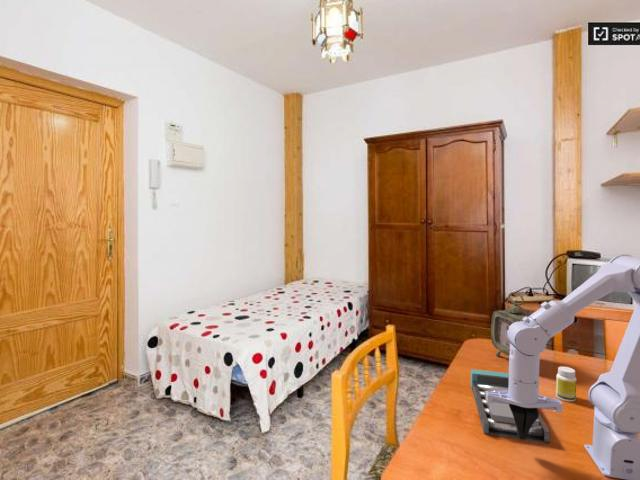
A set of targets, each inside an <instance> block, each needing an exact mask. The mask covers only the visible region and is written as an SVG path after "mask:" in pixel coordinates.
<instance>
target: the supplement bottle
mask: <svg viewBox="0 0 640 480" xmlns="http://www.w3.org/2000/svg"><path fill="white" fill-rule="evenodd" d="M555 376H556V377H555V379H556V380H555V396H556V397H557V399H559V400H560V401H561V400H562V401H565V402H575V401H576V400H577V399H576V397H577V377H576V370H575V369H574V368H572V367H569V366H558V367H557V374H556V375H555Z"/></svg>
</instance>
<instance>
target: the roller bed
mask: <svg viewBox="0 0 640 480" xmlns="http://www.w3.org/2000/svg"><path fill="white" fill-rule="evenodd" d="M471 390H472V393H473V397H474V402H475V405H476V409H477V412H478V417H479V421H480V424H481V425H480V426H481V427H482V432H483V435H489V436H490V435H491V436H497V437H502V438H503V437H504V438H508V439H509V438H510V439H516V440H520V439H519V437H518V435H517V428H516V424H514V423H507V422H500V421H493V420H492V419H491V415H490V412H489V409H488V406H487V403H486V400H485V396H484V391H508V387H501V386H493V385H484V384H477V382H476V381H473V382H472V388H471ZM538 420H539V427H535V426H531V428H530V430H529V433H528V435H527V439H526V440H525V441H529V442H537V443H541V444H550V433H551V432H550V430H549V429H548V426H547V424H546V423H545V421H544V419H543V417H542V416H541V414H540V413H539V417H538Z"/></svg>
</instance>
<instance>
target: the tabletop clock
mask: <svg viewBox="0 0 640 480" xmlns="http://www.w3.org/2000/svg"><path fill="white" fill-rule="evenodd" d="M511 295H516V296H518V297H520V299H521V302H520V303H519V302H518V300H517V299H515V300H514V301H513V300H512V299H511ZM508 300H509V302H511V303H512V304H511V305H510V306H509V307H508V308H507V309H505V310H494V311H492V314H491V320H490V321H491V322H490V338H491V344H492V345H493V347H494V348H496V350H498V351H496V352H495V356H496V357H500V356H501V353H502V354H504V355H506V356H509V355H510V344H511V343H510V342H509V340H508V339H507V337H506V331H507V330H509V326H510V325H511V324H513V323H514V322H517V321H518V322H520V321H523V320H522V319H523V318H524V317H529V316H530V315H531V314H529V313H526V312H525V310H524V308H523V307H522V306H521V305H523V304H524V297H523V296H522V295H521V294H520V293H518V292H516V291H512V292H510V293H509V294H508Z"/></svg>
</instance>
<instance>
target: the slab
mask: <svg viewBox="0 0 640 480" xmlns="http://www.w3.org/2000/svg"><path fill="white" fill-rule="evenodd" d="M484 396H485V400H486V391H484ZM486 403H487V400H486ZM487 406H488V409H489V412H490V415H491V419H492V420H493V421H500V422H507V423H514V424H515V420H514V417H513V414H512V411H511V409H510V407H509V404H503V403H496V402H493V403H487ZM532 426H535V427H539V420H538V419H537V420H536V421H535V422H534V423H533V425H532Z"/></svg>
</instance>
